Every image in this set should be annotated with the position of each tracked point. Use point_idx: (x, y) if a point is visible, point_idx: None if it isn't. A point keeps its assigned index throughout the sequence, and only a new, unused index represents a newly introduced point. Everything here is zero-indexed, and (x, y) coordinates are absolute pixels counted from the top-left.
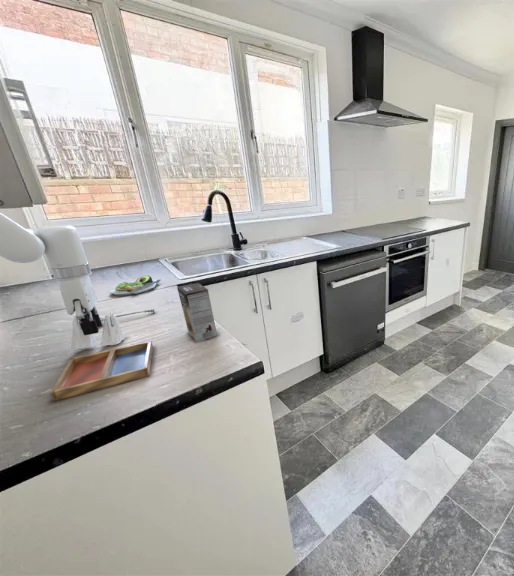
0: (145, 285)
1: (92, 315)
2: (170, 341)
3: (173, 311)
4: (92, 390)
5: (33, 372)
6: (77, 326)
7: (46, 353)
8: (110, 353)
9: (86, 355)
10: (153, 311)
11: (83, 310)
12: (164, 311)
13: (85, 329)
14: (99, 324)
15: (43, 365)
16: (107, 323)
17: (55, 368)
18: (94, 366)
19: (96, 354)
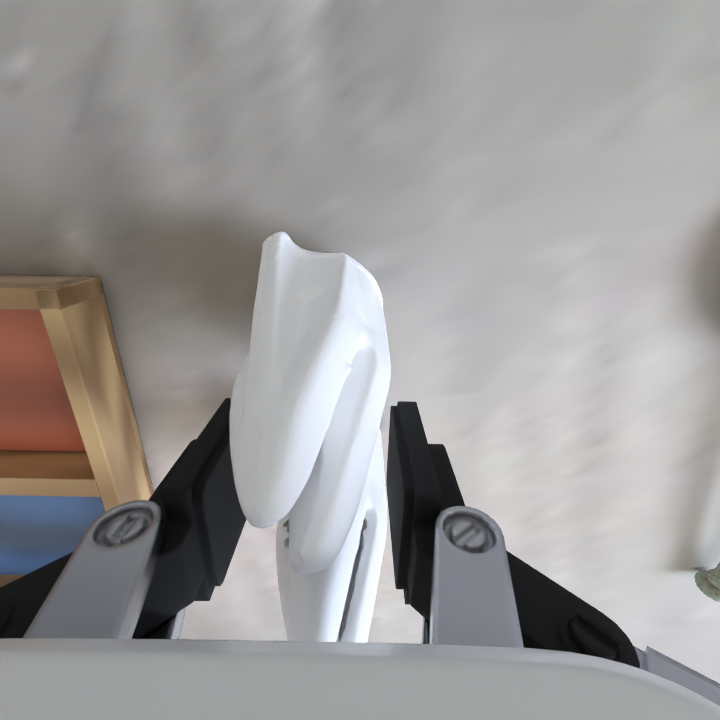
0: None
1: (406, 564)
2: (214, 623)
3: (630, 635)
4: None
5: (94, 20)
6: (231, 414)
7: (444, 16)
8: (52, 484)
9: (69, 374)
10: (704, 583)
11: (431, 611)
12: (675, 606)
13: (181, 460)
14: (388, 489)
15: (196, 64)
16: (282, 576)
17: (107, 170)
18: (17, 394)
19: (77, 418)
